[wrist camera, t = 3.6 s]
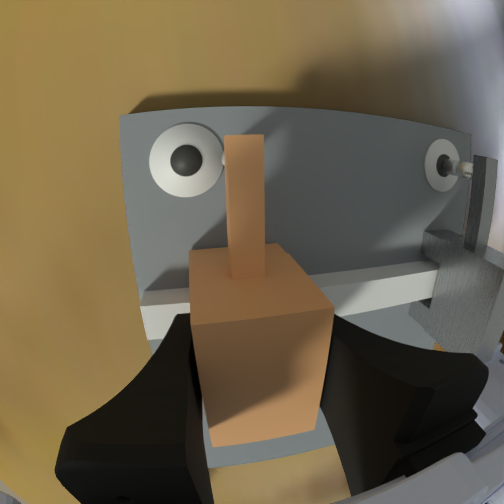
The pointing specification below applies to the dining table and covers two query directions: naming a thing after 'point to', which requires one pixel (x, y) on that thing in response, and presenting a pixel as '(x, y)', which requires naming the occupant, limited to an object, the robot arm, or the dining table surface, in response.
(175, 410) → the robot arm
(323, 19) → the dining table surface
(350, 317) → the board
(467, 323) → the fixed leg
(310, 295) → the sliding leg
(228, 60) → the dining table surface
